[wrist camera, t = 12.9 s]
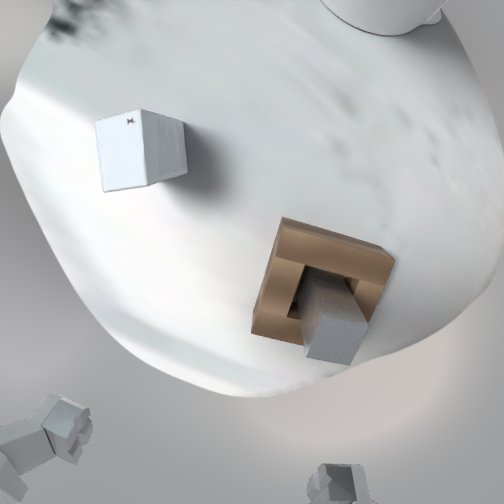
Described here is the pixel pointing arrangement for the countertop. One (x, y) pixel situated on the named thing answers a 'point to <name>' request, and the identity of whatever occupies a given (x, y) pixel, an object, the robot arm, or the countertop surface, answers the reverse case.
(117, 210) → the countertop surface
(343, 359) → the metal peg
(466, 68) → the countertop surface
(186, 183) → the countertop surface
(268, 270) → the walnut socket block
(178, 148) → the skincare box
